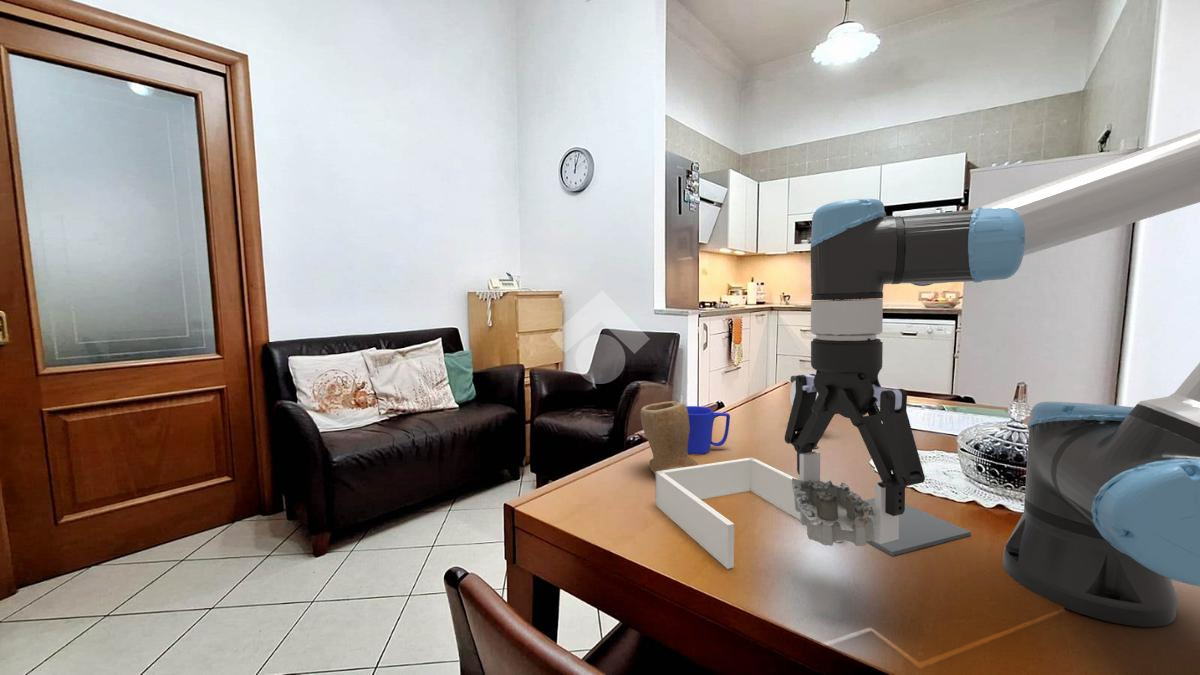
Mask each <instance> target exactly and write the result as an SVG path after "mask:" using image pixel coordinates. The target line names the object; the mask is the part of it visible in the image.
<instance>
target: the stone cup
mask: <svg viewBox="0 0 1200 675" xmlns="http://www.w3.org/2000/svg"><path fill="white" fill-rule="evenodd" d="M640 421H641V422H640V423H641V426H642V430H643V432H644V435H645V437H646V439H647V441H648V444H649V447H650V450H651V453H652V459H650V460H649V462H648V463H649V464H648V465H649V469H650V470H651V471H652V473H654V476H656V471H663V470H670V469H676V468H683V467H690V466H697V465H700V464H699V463H698V462H697V461H696V460H695V459H693V458H691V457H689V454H688V453H687V446H688V438H689V431H690V426H689V417H688V410H687V408H686V404H685V403H684V402H678V401H674V400H672V401H663V402H657V403H656V402H655V403H650V404H647V405H644V406H643V407H642V408H641V409H640Z"/></svg>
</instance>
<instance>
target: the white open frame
mask: <svg viewBox="0 0 1200 675" xmlns="http://www.w3.org/2000/svg"><path fill="white" fill-rule="evenodd" d="M792 478H794V479H797V478H796V477H794V476H792V475H790V474H788V473H786V472H784V471H782V470H779V469H777V468H775V467H774V466H771V465H769V464H767V463H765V462H763V461H761V460H759V459H756V458H755V457H752V456H751V457H745V458H739V459H732V460H726V461H717V462H712V463H706V464H699V465H697V466H690V467H683V468H676V469H670V470H663V471H656V475H655V494H654V495H655V506H656V507H657V508H659V510H660V511H662V513H664V514H665V516H667V517H668V518H669V519H671V521H673V522H674V523H675V524H676V525H677V526H678V527H680V528H681V530H683V531H684V532H685V533H686V534H687V535H688V536H690V537H691V538H692V539H693V540H694V541H695V542H696V543H698V545H699V546H701V547H702V548H703V549H704V550H705V551H706V552H708V553H709V554H710V555H711V556H712V558H714V559H715V560H717V561H718V563H720V564H722V566H723V567H725V569H727V570H729V569H733V568H734V567H735V565H734V564H735V557H734V556H735V523H733V521H731V520H730V519H728V518H727V517H725V516H724V515H722V514H721V513H720V512H718V511H717V510H715V508H713V507H712V506H710V505H709V504H707V503H706V502H705V501H703V500H707V499H712V498H717V497H722V496H723V497H724V496H728V495H733V494H740V493H744V492H750V491H751V492H752V493H754V494H755V495H757V496H759V497H760V498H762V499H764V500H765V501H766V502H769V503H771V504H772V505H773V506H775V507H776V508H778V509H780V510H781V511H784V512H785V513H787V514H789V515H790V516H792V517H794V518H795V519H797V520H798V521H800V522H801V515H800V512H797V511H796V509H795V500H794V493H793V488H792ZM835 542H836V543H841V542H844V541H835Z"/></svg>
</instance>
